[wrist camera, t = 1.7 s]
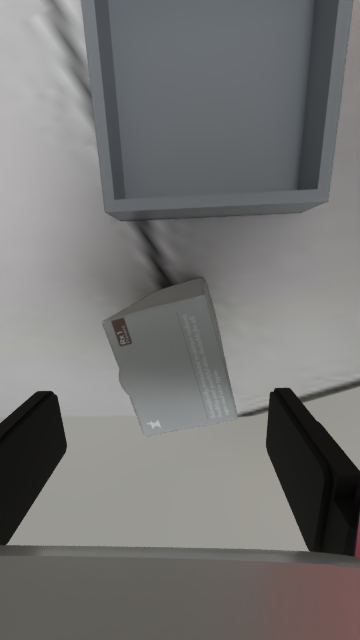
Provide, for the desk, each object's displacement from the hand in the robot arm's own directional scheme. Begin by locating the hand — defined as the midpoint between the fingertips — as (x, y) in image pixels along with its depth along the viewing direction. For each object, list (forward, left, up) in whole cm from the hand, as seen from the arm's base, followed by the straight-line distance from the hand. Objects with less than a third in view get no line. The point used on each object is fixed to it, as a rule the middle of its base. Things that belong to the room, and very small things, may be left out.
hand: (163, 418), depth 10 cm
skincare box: (0, 0, -19) cm, 19 cm away
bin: (-3, -21, -19) cm, 29 cm away
